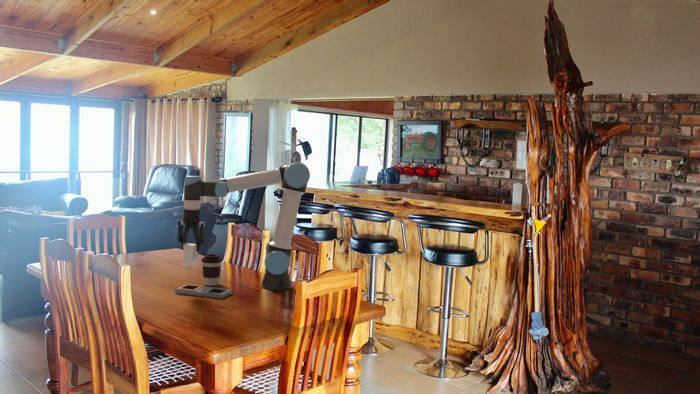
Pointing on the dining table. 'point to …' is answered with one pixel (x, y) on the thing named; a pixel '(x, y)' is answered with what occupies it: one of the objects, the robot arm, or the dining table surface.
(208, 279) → the coffee cup
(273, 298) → the dining table surface
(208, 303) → the dining table surface
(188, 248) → the block
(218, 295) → the grey tray
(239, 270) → the dining table surface
